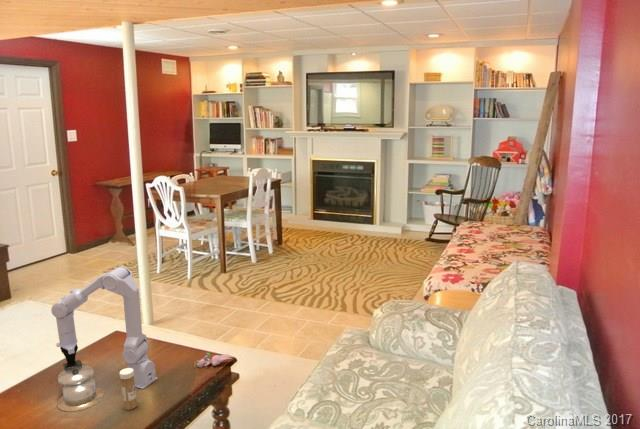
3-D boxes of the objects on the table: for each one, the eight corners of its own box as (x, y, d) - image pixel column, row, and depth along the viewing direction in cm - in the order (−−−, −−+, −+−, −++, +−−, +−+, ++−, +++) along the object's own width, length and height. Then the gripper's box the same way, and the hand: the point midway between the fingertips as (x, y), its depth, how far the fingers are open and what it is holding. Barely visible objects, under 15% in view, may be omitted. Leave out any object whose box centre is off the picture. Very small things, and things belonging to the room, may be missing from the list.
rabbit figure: (194, 373, 196) (232, 365, 197) (190, 360, 195) (229, 351, 196) (196, 365, 202) (233, 357, 203) (193, 352, 201) (230, 344, 202)
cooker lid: (96, 379, 180) (95, 372, 180) (60, 389, 174) (59, 383, 173) (88, 362, 193) (88, 356, 192) (55, 371, 186) (54, 365, 186)
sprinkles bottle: (136, 409, 171) (132, 373, 168) (122, 411, 170) (118, 375, 167) (138, 401, 176) (134, 366, 173) (124, 403, 175) (120, 368, 172)
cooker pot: (107, 401, 176) (105, 387, 175) (60, 417, 168) (57, 402, 167) (99, 383, 188) (97, 369, 187) (54, 396, 180) (52, 382, 179)
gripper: (52, 326, 192) (57, 359, 195) (57, 340, 180) (62, 375, 183) (72, 322, 196) (77, 354, 199) (78, 335, 184) (83, 369, 187)
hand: (71, 364), depth 191 cm, fingers closed
